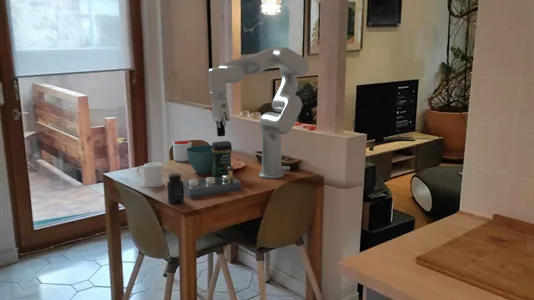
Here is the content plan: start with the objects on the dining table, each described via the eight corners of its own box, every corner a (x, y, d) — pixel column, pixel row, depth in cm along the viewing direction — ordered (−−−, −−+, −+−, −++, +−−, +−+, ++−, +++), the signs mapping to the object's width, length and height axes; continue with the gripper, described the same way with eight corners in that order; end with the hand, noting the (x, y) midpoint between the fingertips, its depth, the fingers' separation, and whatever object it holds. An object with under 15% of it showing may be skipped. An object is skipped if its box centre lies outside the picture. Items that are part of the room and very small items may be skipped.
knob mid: (213, 187, 240) (213, 176, 238) (216, 189, 236) (216, 178, 235) (205, 188, 238) (204, 177, 237) (208, 191, 234) (208, 179, 233)
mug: (140, 181, 251) (139, 161, 248) (164, 182, 249) (163, 162, 247) (134, 186, 243) (132, 166, 241) (159, 187, 241) (158, 167, 239)
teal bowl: (180, 171, 268) (179, 148, 265) (209, 165, 279) (208, 143, 277) (200, 179, 254) (199, 154, 252) (230, 172, 266) (229, 149, 263)
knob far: (196, 189, 236) (196, 178, 235) (199, 192, 232) (199, 181, 231) (188, 191, 234) (187, 180, 233) (191, 193, 231) (190, 182, 229)
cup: (195, 159, 293) (195, 141, 290) (183, 163, 284) (183, 145, 282) (181, 157, 298) (181, 139, 295) (169, 160, 290) (169, 143, 287)
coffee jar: (215, 182, 250) (215, 144, 246) (210, 177, 257) (209, 140, 253) (234, 179, 254) (234, 142, 250) (228, 175, 261) (227, 139, 257)
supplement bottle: (185, 199, 225) (184, 172, 222) (183, 204, 218) (182, 177, 216) (169, 199, 225) (167, 172, 222) (166, 204, 218) (165, 177, 215)
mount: (229, 183, 248) (229, 171, 247) (241, 190, 237) (240, 178, 236) (180, 190, 237) (180, 178, 236) (190, 198, 226) (190, 185, 225)
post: (232, 181, 238) (231, 166, 236) (234, 182, 235) (234, 167, 234) (227, 181, 236) (226, 166, 235) (229, 183, 234) (229, 168, 233)
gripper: (233, 96, 228) (235, 137, 233) (219, 92, 241) (222, 131, 246) (217, 98, 225) (220, 140, 229) (204, 94, 237) (207, 134, 242)
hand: (221, 135), depth 237 cm, fingers closed
